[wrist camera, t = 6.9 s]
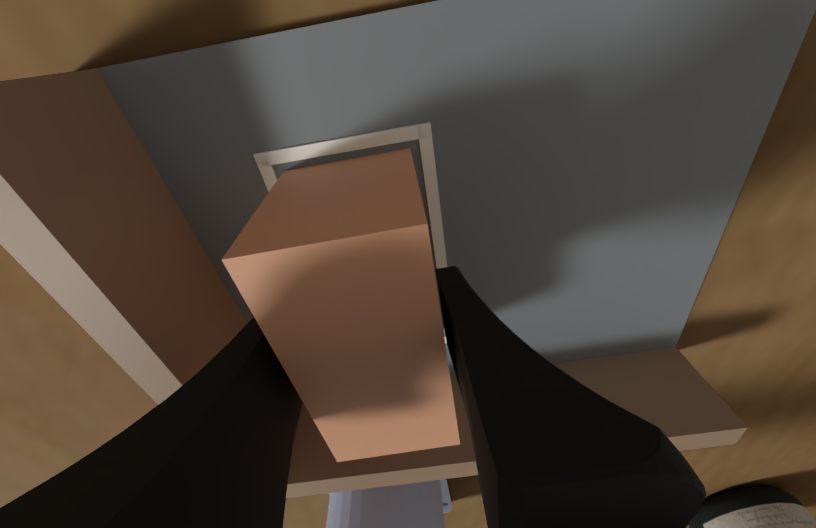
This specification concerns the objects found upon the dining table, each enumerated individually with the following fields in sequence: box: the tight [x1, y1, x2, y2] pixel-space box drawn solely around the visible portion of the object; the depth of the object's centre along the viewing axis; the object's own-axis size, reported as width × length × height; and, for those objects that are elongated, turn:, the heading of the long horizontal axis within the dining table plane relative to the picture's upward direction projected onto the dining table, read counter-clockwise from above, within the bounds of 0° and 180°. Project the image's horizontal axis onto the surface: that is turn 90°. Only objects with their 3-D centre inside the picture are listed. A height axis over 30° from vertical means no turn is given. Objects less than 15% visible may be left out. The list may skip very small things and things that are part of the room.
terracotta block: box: [222, 148, 460, 462], centre depth 11 cm, size 8×4×5 cm, turn 9°
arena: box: [0, 0, 816, 498], centre depth 12 cm, size 16×20×4 cm
